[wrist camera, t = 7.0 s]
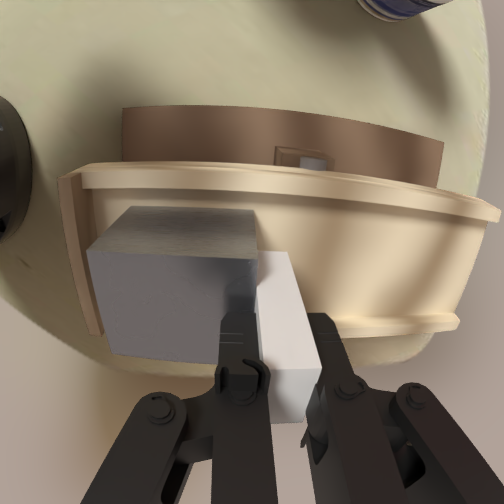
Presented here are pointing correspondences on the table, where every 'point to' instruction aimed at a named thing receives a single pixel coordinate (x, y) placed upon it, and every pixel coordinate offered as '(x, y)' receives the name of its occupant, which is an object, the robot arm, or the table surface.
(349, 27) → the table surface
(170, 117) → the stand
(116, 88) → the table surface
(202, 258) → the block
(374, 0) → the pill bottle
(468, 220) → the balance beam
